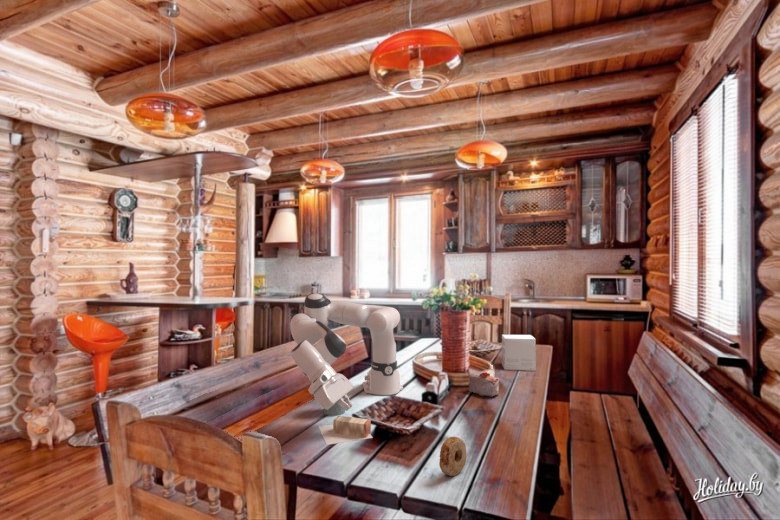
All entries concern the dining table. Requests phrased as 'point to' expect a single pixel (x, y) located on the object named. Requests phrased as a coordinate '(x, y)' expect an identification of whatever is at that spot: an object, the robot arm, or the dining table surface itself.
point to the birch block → (352, 426)
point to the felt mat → (337, 435)
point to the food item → (484, 384)
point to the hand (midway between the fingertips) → (349, 408)
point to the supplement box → (519, 352)
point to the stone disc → (452, 456)
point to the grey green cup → (334, 410)
